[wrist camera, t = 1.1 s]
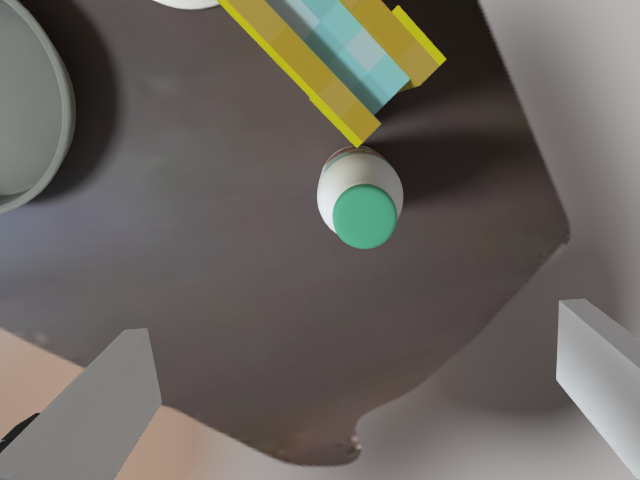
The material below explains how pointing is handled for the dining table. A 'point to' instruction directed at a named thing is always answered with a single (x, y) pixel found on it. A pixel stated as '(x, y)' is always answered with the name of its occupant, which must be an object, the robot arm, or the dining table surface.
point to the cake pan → (31, 107)
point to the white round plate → (190, 4)
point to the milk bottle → (360, 196)
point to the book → (342, 53)
